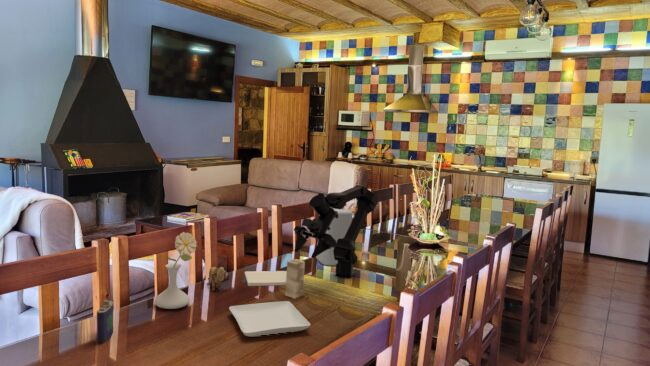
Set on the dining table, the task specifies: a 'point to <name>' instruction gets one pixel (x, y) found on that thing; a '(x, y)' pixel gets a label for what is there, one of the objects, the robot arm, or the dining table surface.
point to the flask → (105, 322)
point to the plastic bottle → (336, 234)
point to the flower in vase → (173, 294)
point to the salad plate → (268, 318)
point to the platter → (265, 278)
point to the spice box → (295, 278)
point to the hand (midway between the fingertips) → (303, 254)
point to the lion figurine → (217, 276)
